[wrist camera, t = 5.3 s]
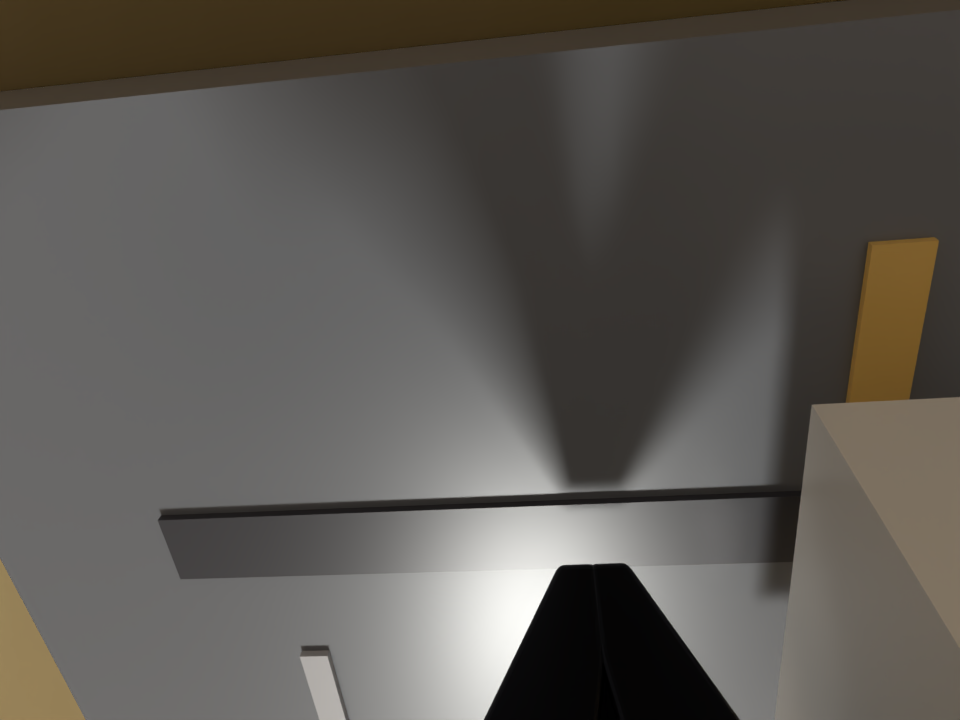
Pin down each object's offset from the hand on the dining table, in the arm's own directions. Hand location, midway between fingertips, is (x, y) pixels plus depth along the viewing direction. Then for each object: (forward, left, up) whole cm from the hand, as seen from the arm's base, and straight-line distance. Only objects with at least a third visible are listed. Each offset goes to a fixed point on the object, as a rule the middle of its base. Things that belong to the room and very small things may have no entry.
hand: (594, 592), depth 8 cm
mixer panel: (-1, 0, -3) cm, 3 cm away
